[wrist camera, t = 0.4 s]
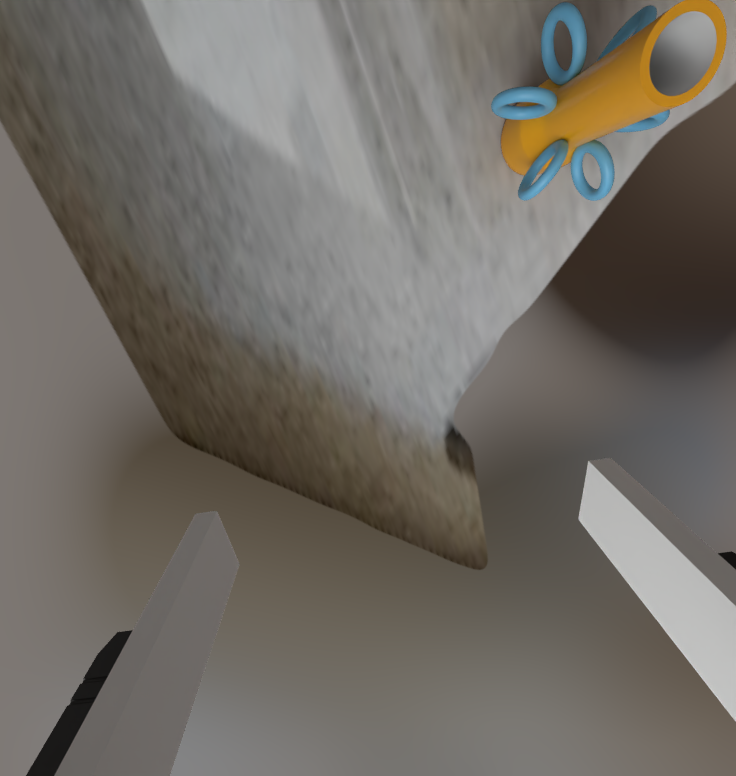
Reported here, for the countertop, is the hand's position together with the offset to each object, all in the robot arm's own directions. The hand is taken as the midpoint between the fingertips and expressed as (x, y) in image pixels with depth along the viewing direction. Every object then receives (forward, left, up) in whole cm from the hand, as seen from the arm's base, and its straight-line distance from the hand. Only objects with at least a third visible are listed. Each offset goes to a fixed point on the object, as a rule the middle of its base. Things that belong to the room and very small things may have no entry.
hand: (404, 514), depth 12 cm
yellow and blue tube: (-12, +19, -27) cm, 35 cm away
